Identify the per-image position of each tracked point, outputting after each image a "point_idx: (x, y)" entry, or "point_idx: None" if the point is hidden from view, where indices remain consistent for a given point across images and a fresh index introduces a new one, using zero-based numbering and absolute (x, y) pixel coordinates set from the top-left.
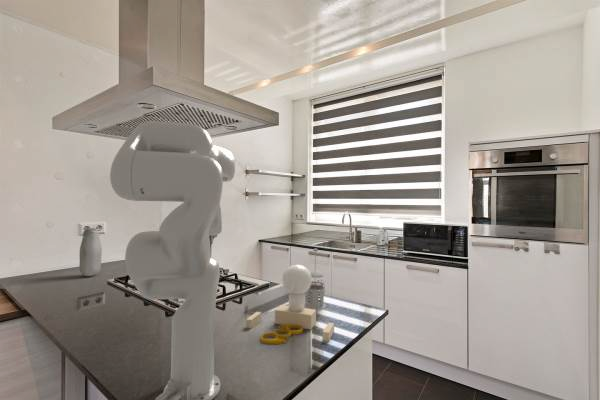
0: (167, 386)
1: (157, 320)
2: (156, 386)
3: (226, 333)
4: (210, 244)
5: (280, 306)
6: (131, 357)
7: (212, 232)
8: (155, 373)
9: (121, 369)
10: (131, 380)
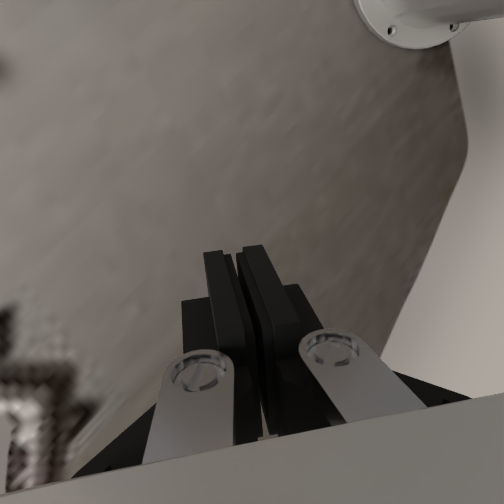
0: (446, 35)
1: (138, 400)
2: (425, 85)
3: (72, 125)
4: (208, 360)
5: None
6: (338, 263)
7: (401, 464)
8: (379, 139)
9: (389, 232)
10: (420, 167)
